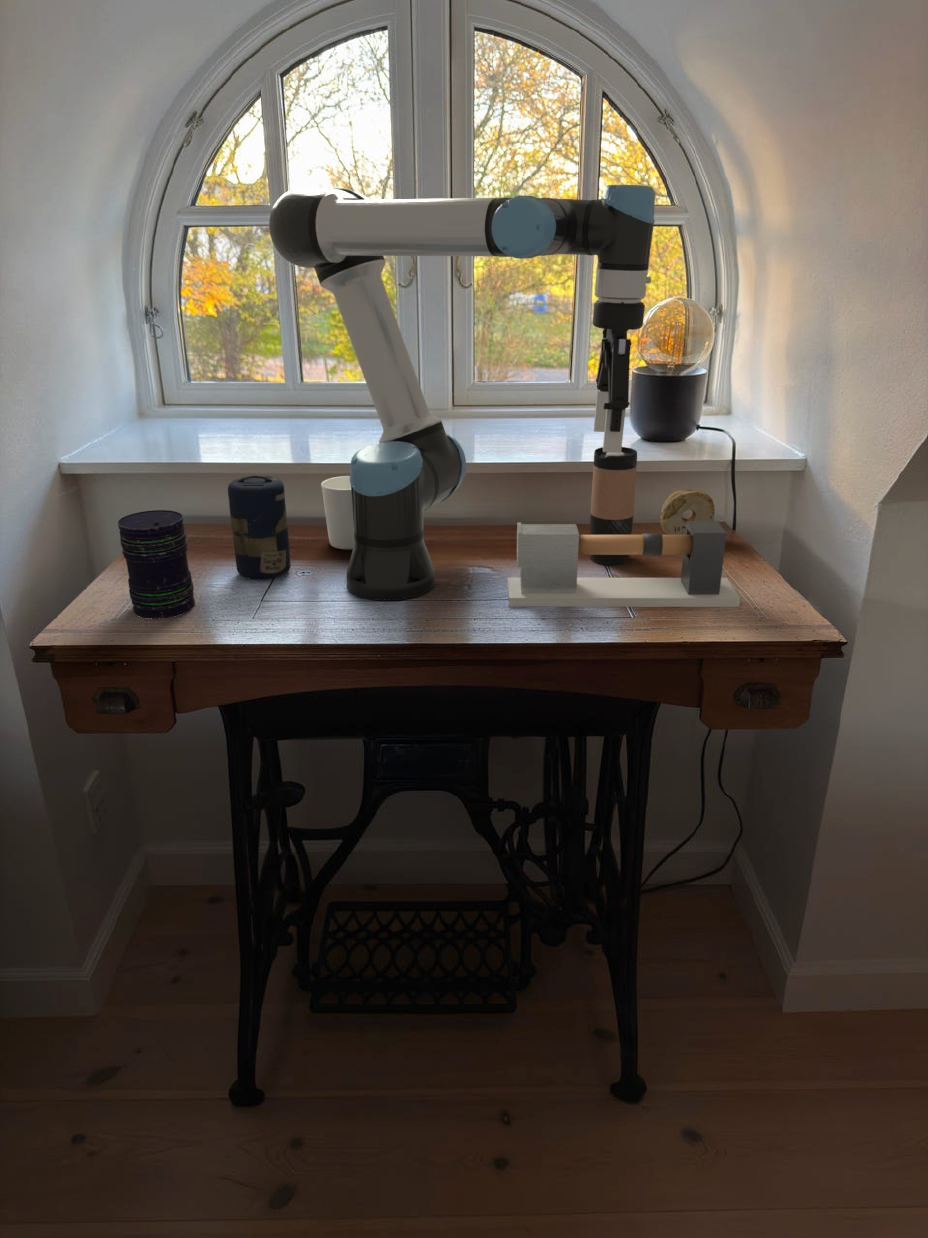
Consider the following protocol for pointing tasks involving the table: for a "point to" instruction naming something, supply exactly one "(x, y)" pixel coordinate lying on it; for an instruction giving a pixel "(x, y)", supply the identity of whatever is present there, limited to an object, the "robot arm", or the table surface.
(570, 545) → the light grey block
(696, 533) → the charcoal socket
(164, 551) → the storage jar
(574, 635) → the table surface
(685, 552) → the orange tube
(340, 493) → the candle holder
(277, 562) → the canister
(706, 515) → the stone disc
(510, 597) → the baseboard
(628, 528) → the travel mug
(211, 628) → the table surface
